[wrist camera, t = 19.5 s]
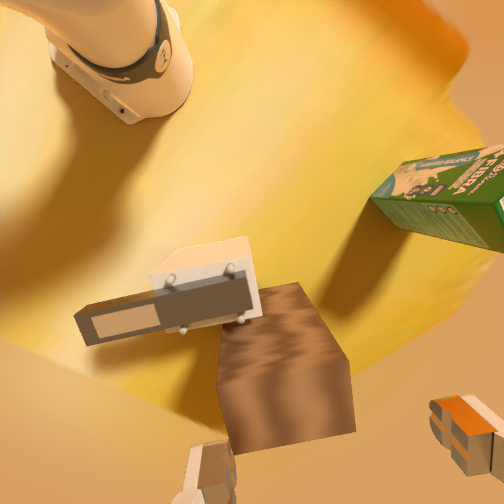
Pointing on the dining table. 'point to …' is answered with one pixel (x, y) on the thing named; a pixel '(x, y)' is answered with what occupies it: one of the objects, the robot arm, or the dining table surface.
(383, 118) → the dining table surface
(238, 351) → the stand
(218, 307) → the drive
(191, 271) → the dock
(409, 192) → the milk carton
